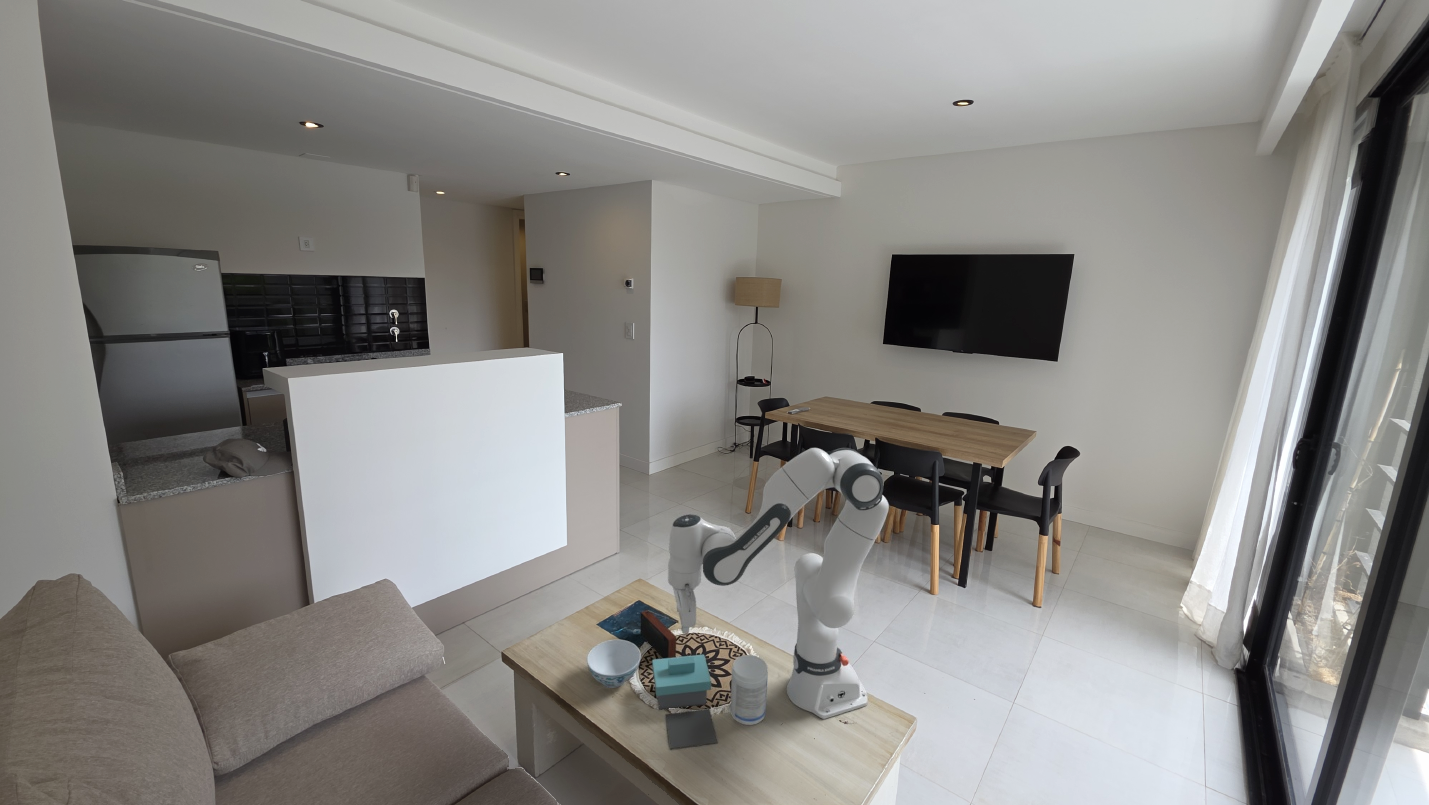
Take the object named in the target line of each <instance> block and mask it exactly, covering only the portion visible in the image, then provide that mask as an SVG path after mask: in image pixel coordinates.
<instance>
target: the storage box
mask: <svg viewBox="0 0 1429 805" xmlns="http://www.w3.org/2000/svg"><path fill="white" fill-rule="evenodd" d="M707 693H708V690H705V691H696V692H687V693H679V694H670V695H661V696H656V698H657V700H656V701H657V705H658V706H657V707H658V711H665V710H670V709H669V708H675V709H679V708H678V707H683V708H688V707H687V706H691V707H699V706H706V705H707V701H708V700H707V699H708V697H707V696H708V695H707Z"/></svg>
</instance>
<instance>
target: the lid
mask: <svg viewBox="0 0 1429 805" xmlns="http://www.w3.org/2000/svg"><path fill="white" fill-rule="evenodd" d="M705 656H706V655H705V654H697V655H695V654H694V655H688V656H686V655H684V656H676V657H675V658H665V659H663V658H657V659H652V661H651V662H652V665H651V666H652V667H651V668H652V675H653V676H652V677H653V681H654V690H655V697H657V696H661V695H670V694H679V693H687V692H696V691H705V690H707V691H711V690H712V679H711V675H710V673H709V672H710V671H709V667H708V665H707V660H706V657H705Z"/></svg>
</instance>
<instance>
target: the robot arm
mask: <svg viewBox="0 0 1429 805" xmlns="http://www.w3.org/2000/svg"><path fill="white" fill-rule="evenodd" d="M830 488H834V489H835V490H837V491H838V493H840V494H841V495H842V496H843V497H844V498H845V504H844V506H843V509H842V510H841V511H840V513H839V515H838V517H837V518H836V519H835V522H834V524H833V525H832V527H831V529H830V531H829V532H828V534H827V536H826V538H825V540H824V544H823V556H821V555H819V554H818V553H813V552H812V553H811V552H809V553H805V554H803V555H801V556H800V557H799V558H798V559H797V560H796V562H795V563H794V566H793V573H794V579H795V594H796V595H795V596H796V597H795V600H796V611H797V635H796V643H795V645H794V650H793V657H792V663H793V668H792V672H791V676H790V679H789V682H788V683H787V686H786V693H787V696H788V698H789V699H790V700H791V703H793V704H794V705H796V706H797V708H798V707H799V708H800V709H802V710H804V711H806V712H807V711H808V712H810V713H811V714H812V713H813V714H814V715H815V716H817V717H819V718H821V719H823V720H824V719H829V718H831V717H835V716H838V715H841V714H843V713H847V712H850V711H853V710H854V711H855V710H857V709H860V708H864V707H866V706H867V705H868V693H867V691H866V689H865V687H864V684H863V683H862V681H861V680H860V679H859V676H858V674H857V672H856V671H855V668H854V667H853V666H852V665H851V663H850V661H849V660H848V658H847V656H846V655H843V652H842V650H841V649H840V648H839V647H838V643H839V642H838V641H839V633H840V632H839V631H840V628H842V627H845V626H846V625H848V623H849V622H850V621H851V620H852V619H853V617H854V615H855V593H856V588H857V583H858V579H859V575H860V571H861V569H862V566H863V563H864V562H865V560H866V557H867V555H868V554H869V552H870V551H871V549H872V547H873V545H874V543H875V541H876V540H877V538H878V536H879V535H880V533H881V530H882V528H883V526H884V524H885V521H886V518H887V515H888V513H889V509H890V508H889V507H890V504H889V502H888V500H887V498H886V497H885V496H884V495H883V491H884V478H883V476H882V474H881V472H880V471H879V469H878V468H877V467H876V466H874V464H873V463H872V462H871V461H870V459H868V458H867V457H866V456H863V455H862V454H860V453H859V452H858V451H856V450H855V449H852V448H849V447H841V448H837V449H834V450H831V451H825V450H823V449H821V448H818V447H810V448H809V449H807V450H804V451H803V452H801V453H800V454H798V455H796V456H794V457H793V458H792V459H790V460H789V461H788V462H787V463H785V464H784V465H783V466H781V467H780V468H778V470H776V471H775V472H774V473H773V474H772V475H771V477H770V478H769V479H768V480H767V481H766V482H765V485H764V487H763V493H762V502H761V505H760V506H761V507H760V509H759V513H758V514H757V516H756V518H755V519H754V521H753V522H752V523H751V524H749V525H748V527H746V529H745V530H743V531H742V532H741V533H740V534H739V535H738V536H737V537H736V534H735V532H734V531H733V530H732V529H731V528H730V527H729V526H726V525H723V524H714V523H711V522H709V521H706V520H704V519H703V518H702V517H701V516H700V515H698V514H691V513H690V514H684V515H681V516H678V517H677V518H676V519H675V520H674V521H673V523H672V524H671V528H670V531H669V532H670V533H669V539H668V540H669V542H668V552H669V559H668V564H667V582H668V584H669V585H670V586H671V587H672V590H673V594H674V598H675V602H676V610H677V612H678V616H679V620H680V625H681V633H682V634H689V633H690V628H693V627H696V624H697V598H696V595H695V591H694V590H695V589H696V588H697V587H699V586H700V584H701V583H702V573H703V575H704V577H705V578H706V580H708V581H709V582H710V583H711V584H713V585H716V586H722V587H726V586H729V585H733V584H735V583H737V582H738V581H739V580H740V579H741V578H742V576H743V575H744V574H745V571H746V569H747V567H749V564H750V563H751V562H752V561H753V560H754V559H755V557H757V556H758V555H759V554H760V553H761V552H762V551H763V550H764V549H765V548H766V547H767V546H768V545H769V544H770V543H771V542H772V541H773V540H774V539H775V538H777V536H778V534H780V533H781V532H782V530H784V529H785V527H786V526H787V525H788V523H789V522H790V521H791V519H792V518H793V517H794V516H795V515H796V514H797V513H798V512H799V511H800V510H801V509H802V508H803V507H804V506H805V505H806V504H807V503H809V502H810V501H811V500H813V498H814V497H816V495H818V494H819V493H820V492H823V491H824V490H826V489H830ZM861 691H863V692H861Z"/></svg>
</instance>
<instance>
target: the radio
mask: <svg viewBox="0 0 1429 805" xmlns="http://www.w3.org/2000/svg"><path fill="white" fill-rule="evenodd" d="M655 615H656V616H655ZM657 616H660V617H662V618H665V619H666V620H669V621H672V622H675V623H677V624H679V621H676V620H674V619H672V618H671V619H670V617H669V618H668V617H667V616H663V615H661V614H658V613H656V612H653V611H651V610H649V609H646V610H643V611H641V612H640V636H641V637H642V638H643V640H645V641H646V642H647V644H649V646H650V647H651V648H652V649H653V650H654V651H655V652H656V653H657V654H658V655H659V656H660V657H661V659H665V658H675V657H677V655H676V654H677V636H676V635H675V634H674V633H673V632H672V631H671V630H670V629H669V628H668V627H667V626H666V625H665V624H664V623H663V622H662V621H661V620H660V619H659V618H658V617H657Z"/></svg>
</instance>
